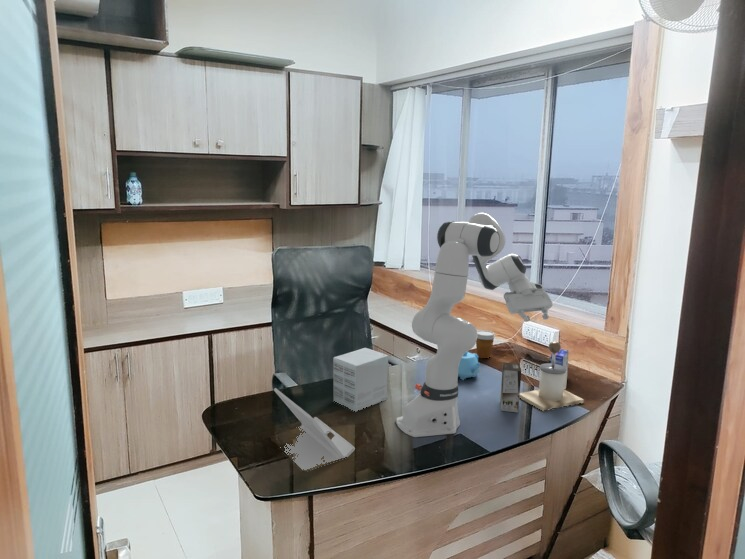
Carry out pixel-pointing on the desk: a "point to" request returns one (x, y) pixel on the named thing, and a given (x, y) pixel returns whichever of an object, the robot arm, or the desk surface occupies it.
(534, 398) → the oak board
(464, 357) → the blue piggy bank
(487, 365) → the desk surface
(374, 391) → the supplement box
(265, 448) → the desk surface
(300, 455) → the tablet stand
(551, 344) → the ball-topped rod
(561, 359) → the ink cartridge box
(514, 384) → the coffee box
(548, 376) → the white jar with lid
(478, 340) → the disposable coffee cup
